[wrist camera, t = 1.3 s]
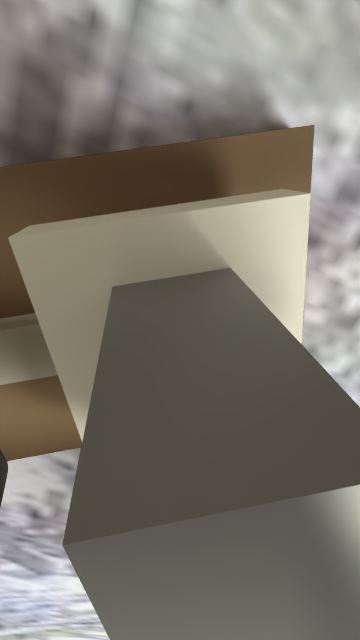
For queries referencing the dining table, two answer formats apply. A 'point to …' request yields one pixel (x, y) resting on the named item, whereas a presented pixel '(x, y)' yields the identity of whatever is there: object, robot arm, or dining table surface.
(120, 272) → the carriage
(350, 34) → the dining table surface
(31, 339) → the rail track
